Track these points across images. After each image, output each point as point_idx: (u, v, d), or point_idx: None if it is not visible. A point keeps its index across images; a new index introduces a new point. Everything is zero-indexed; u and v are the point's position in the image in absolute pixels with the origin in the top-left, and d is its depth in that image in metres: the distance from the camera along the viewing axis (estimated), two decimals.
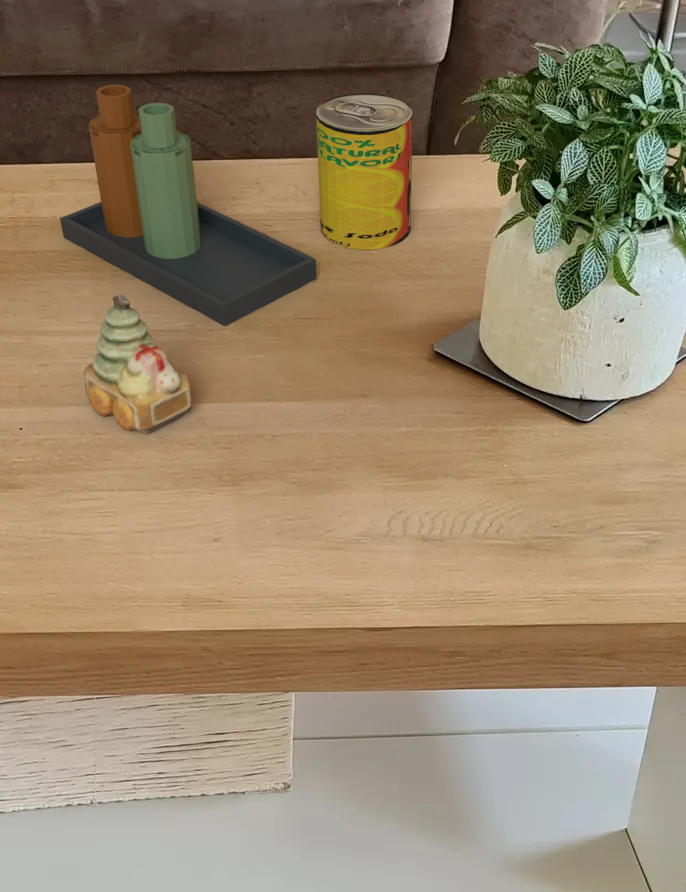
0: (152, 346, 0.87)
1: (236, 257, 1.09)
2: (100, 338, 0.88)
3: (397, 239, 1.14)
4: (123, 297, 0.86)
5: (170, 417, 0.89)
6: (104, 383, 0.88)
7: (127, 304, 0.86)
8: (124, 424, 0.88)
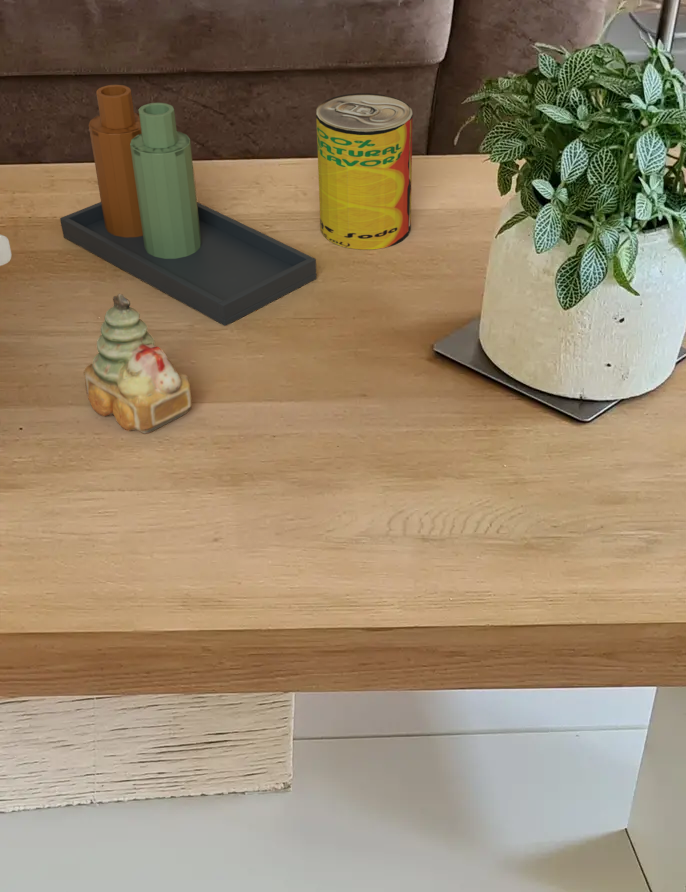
0: (152, 346, 0.87)
1: (236, 257, 1.09)
2: (100, 338, 0.88)
3: (397, 239, 1.14)
4: (123, 297, 0.86)
5: (170, 417, 0.89)
6: (104, 383, 0.88)
7: (127, 304, 0.86)
8: (124, 424, 0.88)
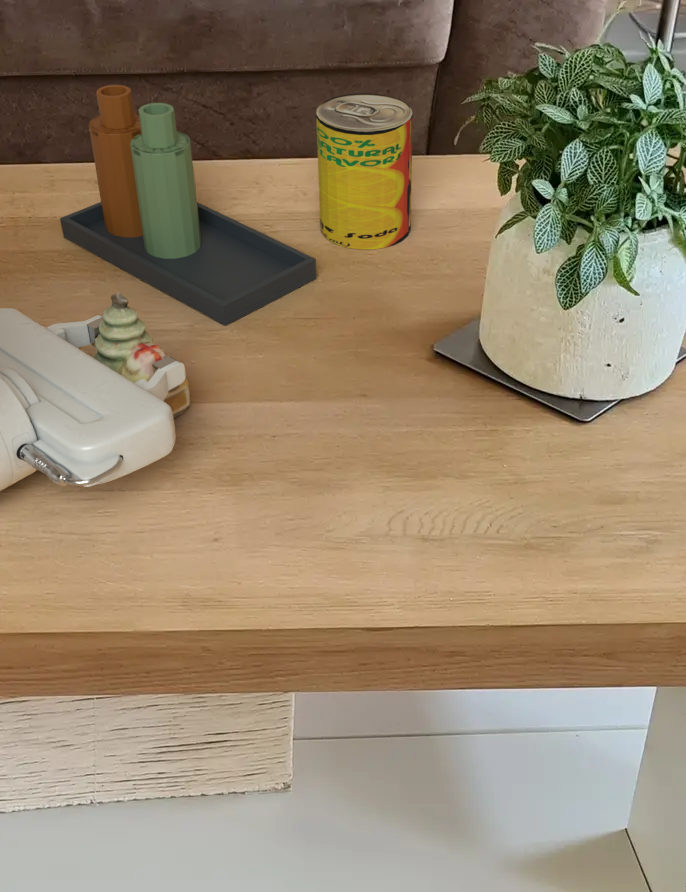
0: (150, 344, 0.87)
1: (236, 257, 1.09)
2: (98, 337, 0.88)
3: (397, 239, 1.14)
4: (121, 296, 0.86)
5: None
6: None
7: (125, 303, 0.86)
8: None
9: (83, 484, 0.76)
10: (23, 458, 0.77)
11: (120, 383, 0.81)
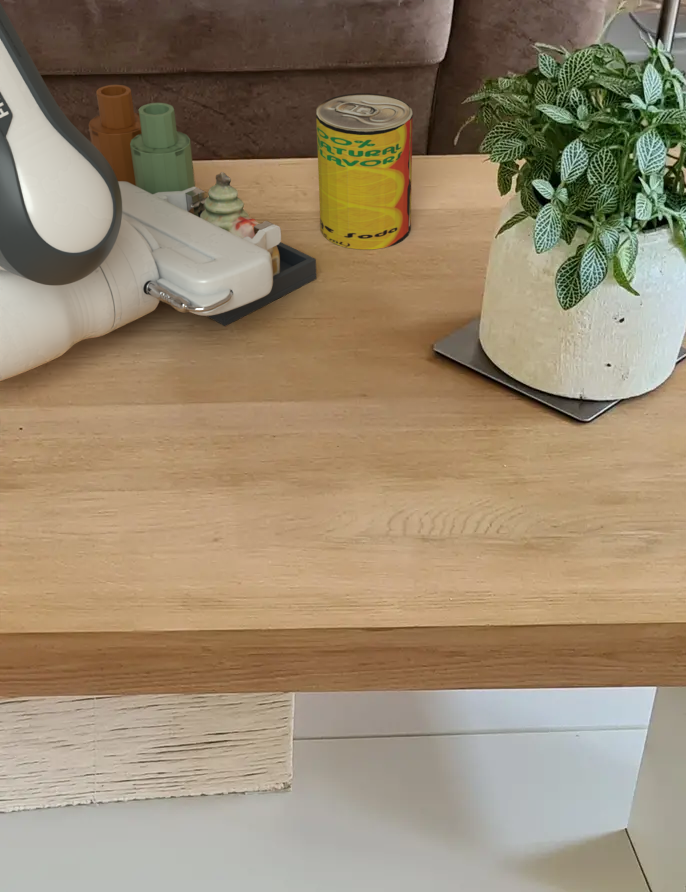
0: (248, 218, 1.02)
1: None
2: (203, 213, 1.03)
3: (397, 239, 1.14)
4: (225, 175, 1.01)
5: None
6: None
7: (229, 181, 1.01)
8: None
9: (202, 310, 0.90)
10: (149, 292, 0.92)
11: (226, 235, 0.96)
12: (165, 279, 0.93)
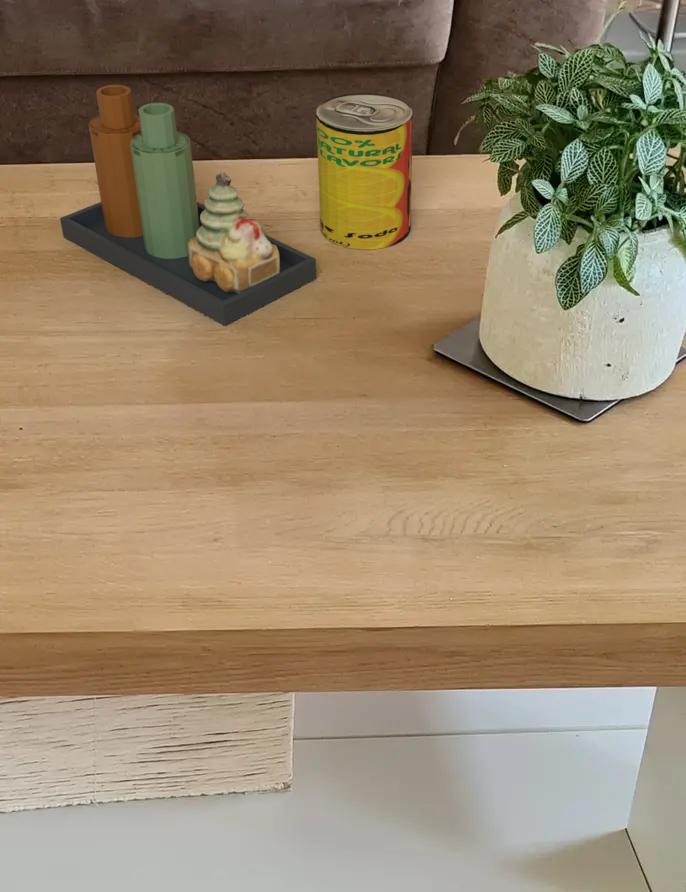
0: (249, 218, 1.02)
1: None
2: (203, 213, 1.03)
3: (397, 239, 1.14)
4: (225, 175, 1.01)
5: None
6: (207, 251, 1.03)
7: (229, 181, 1.01)
8: (224, 286, 1.03)
9: None
10: None
11: None
12: None
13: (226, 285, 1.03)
